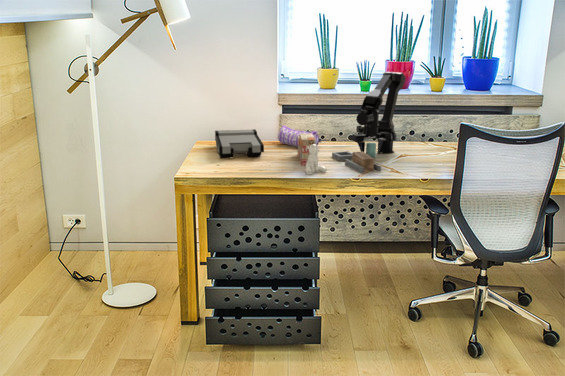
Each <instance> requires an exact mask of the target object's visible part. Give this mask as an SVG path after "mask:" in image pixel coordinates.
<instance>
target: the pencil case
mask: <svg viewBox="0 0 565 376" xmlns="http://www.w3.org/2000/svg"><path fill="white" fill-rule="evenodd" d="M310 133H312V134H313V136H314V137H315V145H317V146H318V145H319V143H321V142H322V138H320V137H319V135H318V134H317V133H318V131H317V130H314V131H313V130H311V131H303V130H297V129H292V128H290V127H288V126H285V125H281V128H280V129H278V135H277V139H278V142H279V143H280V144H282V145H283V144H284V145H289V146H293V147H297V148H298V136H299V134H310Z"/></svg>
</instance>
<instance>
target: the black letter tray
mask: <svg viewBox="0 0 565 376" xmlns="http://www.w3.org/2000/svg"><path fill="white" fill-rule="evenodd" d="M257 131H258V130H256V129H228V130H227V129H226V130H224V129H223V130H214V140H215V147H216V151H217V153H218V155H219V154H220V155H219V157H220V159H231V158H230V157H233V158H234V154H245V153H247V154H246V156H247V155H248V156H247V157H248V158H259V157H258V156H261V155H262V153H264V152H265V145H264V143H263V141H262V140H261V139H260V137H259V135H258V132H257Z"/></svg>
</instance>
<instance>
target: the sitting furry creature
mask: <svg viewBox="0 0 565 376" xmlns="http://www.w3.org/2000/svg"><path fill="white" fill-rule="evenodd" d="M306 147H307V149H309V153H310V155H309V156H308V161H307V163H306V165H305V174H306V175H311V174H315V173H316V174H317V173H324V174H326V173H327V168H325V166H322V165H320V164H319V156H318V154H319V152H320V149H319V148H320V145H319V146H317V145H315V144H312V145H310V147H309V146H306Z"/></svg>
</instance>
